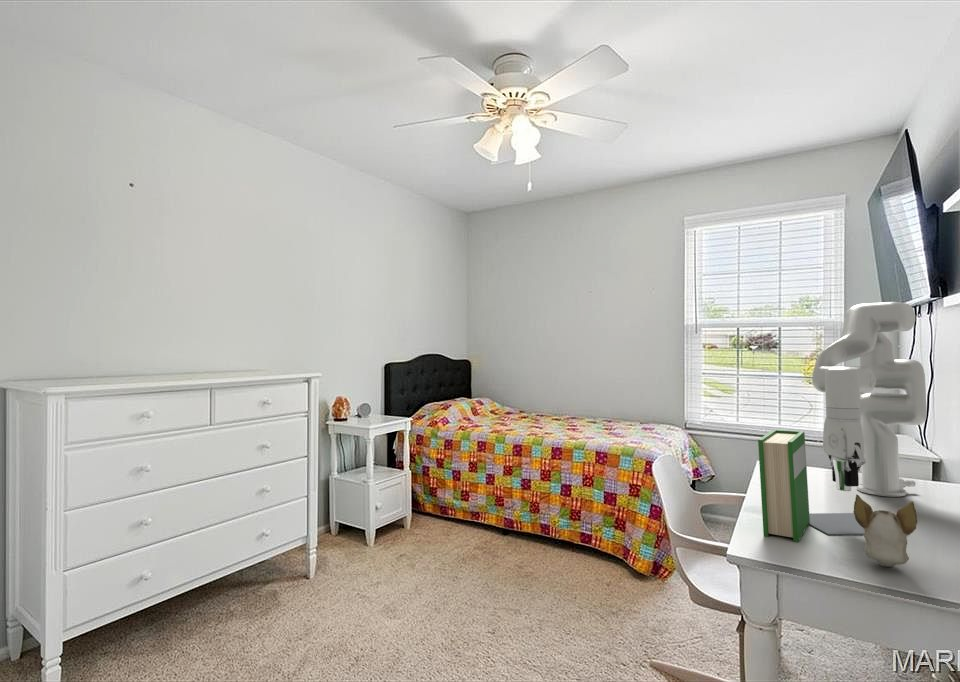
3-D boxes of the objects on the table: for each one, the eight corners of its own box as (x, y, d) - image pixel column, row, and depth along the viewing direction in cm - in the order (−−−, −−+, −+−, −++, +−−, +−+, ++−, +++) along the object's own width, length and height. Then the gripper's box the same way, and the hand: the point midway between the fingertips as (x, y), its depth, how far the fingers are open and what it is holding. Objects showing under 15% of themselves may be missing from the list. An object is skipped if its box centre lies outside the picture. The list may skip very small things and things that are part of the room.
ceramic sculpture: (918, 566, 109) (915, 495, 110) (920, 581, 103) (917, 505, 103) (856, 555, 116) (853, 488, 116) (854, 568, 109) (852, 497, 109)
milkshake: (861, 492, 133) (860, 453, 133) (838, 491, 134) (837, 453, 134) (852, 487, 138) (851, 450, 138) (830, 486, 139) (829, 449, 139)
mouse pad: (863, 514, 144) (863, 512, 144) (910, 534, 128) (910, 532, 128) (791, 515, 144) (790, 513, 144) (828, 535, 128) (828, 533, 128)
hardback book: (798, 542, 124) (792, 442, 124) (763, 536, 129) (758, 439, 129) (809, 521, 137) (804, 431, 138) (778, 516, 142) (773, 429, 143)
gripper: (809, 411, 145) (811, 476, 145) (850, 418, 128) (853, 492, 128) (836, 410, 145) (838, 476, 144) (881, 418, 128) (883, 492, 128)
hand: (845, 483), depth 136 cm, fingers closed on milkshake, 4 cm apart
